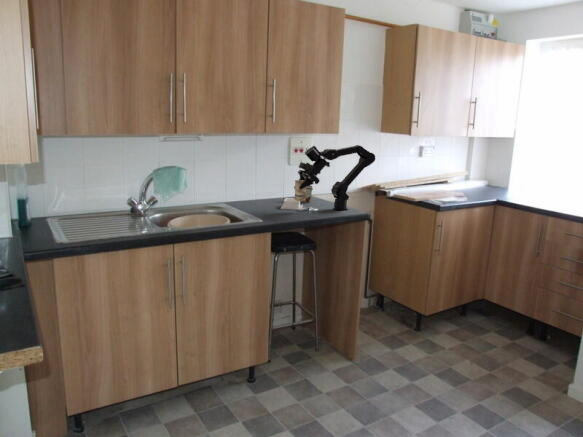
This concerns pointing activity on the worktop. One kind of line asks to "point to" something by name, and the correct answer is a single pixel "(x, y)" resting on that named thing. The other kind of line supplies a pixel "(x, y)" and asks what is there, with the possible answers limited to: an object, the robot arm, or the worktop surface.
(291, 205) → the well
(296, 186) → the wooden post
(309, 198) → the food container
